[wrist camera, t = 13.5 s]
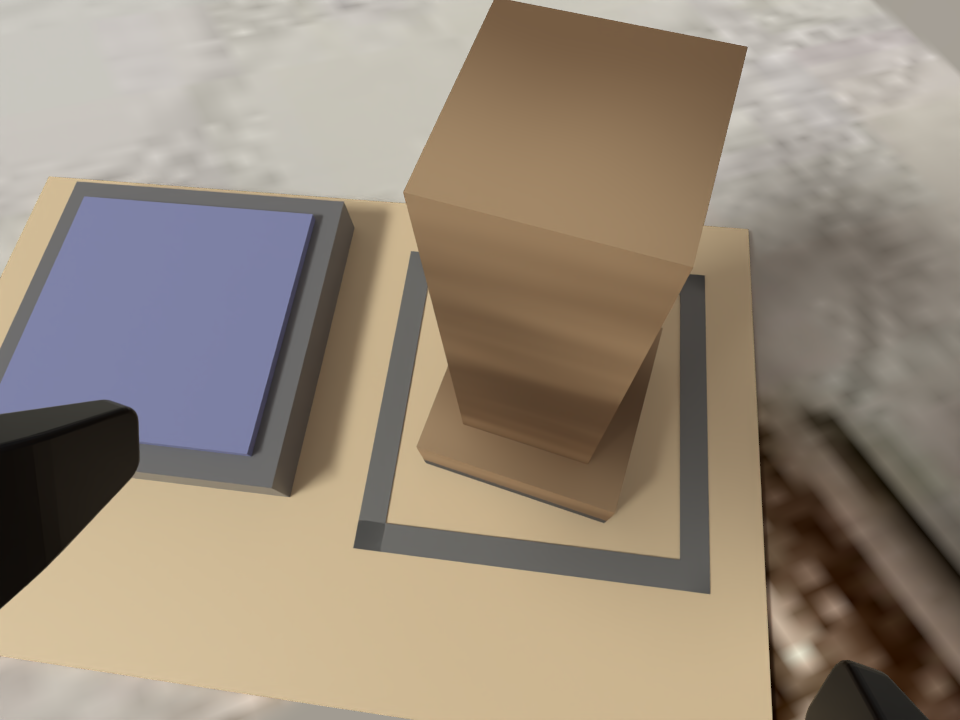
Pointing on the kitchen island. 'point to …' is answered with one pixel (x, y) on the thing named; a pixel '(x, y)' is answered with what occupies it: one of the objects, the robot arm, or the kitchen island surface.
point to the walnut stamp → (562, 240)
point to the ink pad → (185, 325)
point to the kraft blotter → (437, 534)
